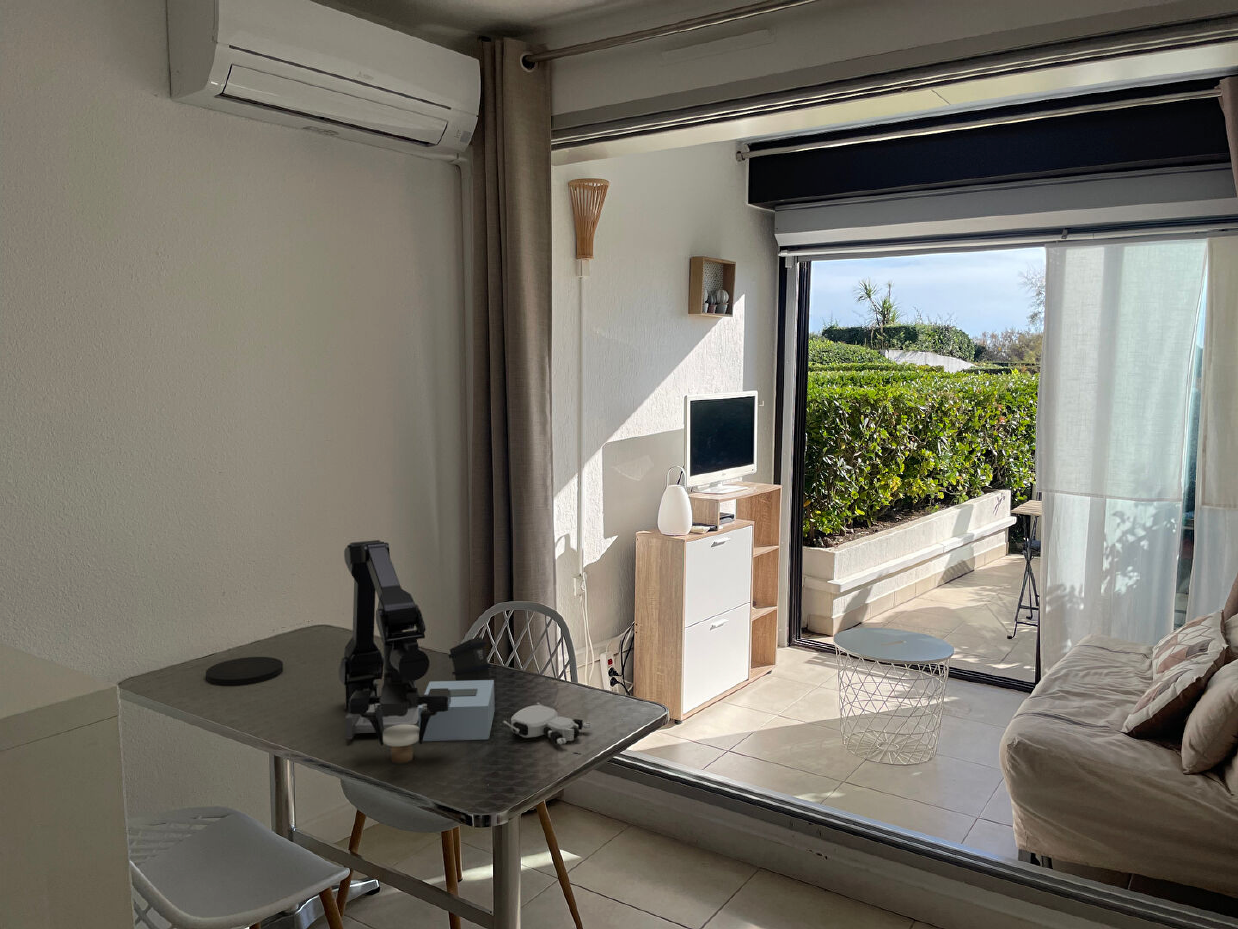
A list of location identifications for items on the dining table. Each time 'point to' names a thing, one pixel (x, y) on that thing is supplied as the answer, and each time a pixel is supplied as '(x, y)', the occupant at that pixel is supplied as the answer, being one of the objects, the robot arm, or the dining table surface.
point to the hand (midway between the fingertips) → (401, 743)
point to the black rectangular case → (470, 661)
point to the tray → (363, 725)
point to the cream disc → (401, 735)
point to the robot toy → (545, 724)
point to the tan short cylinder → (401, 754)
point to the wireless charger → (244, 671)
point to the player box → (462, 711)
